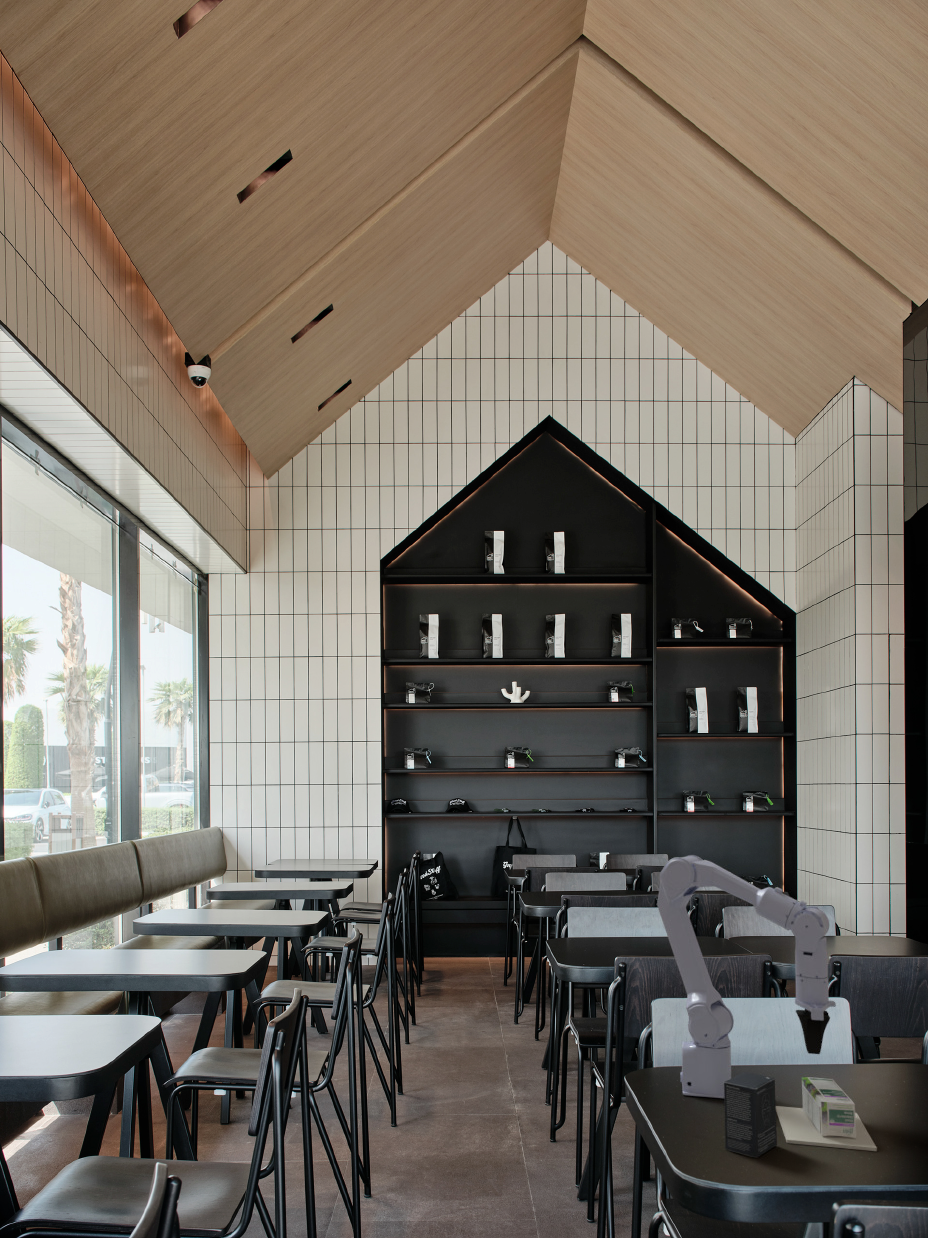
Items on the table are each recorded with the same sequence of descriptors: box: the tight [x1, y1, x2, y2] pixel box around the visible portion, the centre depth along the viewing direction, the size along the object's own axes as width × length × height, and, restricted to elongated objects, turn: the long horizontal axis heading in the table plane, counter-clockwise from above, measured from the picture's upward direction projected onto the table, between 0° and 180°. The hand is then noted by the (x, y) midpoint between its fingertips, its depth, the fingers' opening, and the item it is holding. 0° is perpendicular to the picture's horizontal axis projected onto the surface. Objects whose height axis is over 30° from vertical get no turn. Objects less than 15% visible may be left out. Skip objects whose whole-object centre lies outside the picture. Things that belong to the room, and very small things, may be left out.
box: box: [723, 1071, 778, 1159], centre depth 165 cm, size 8×6×11 cm
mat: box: [776, 1105, 878, 1152], centre depth 174 cm, size 14×18×1 cm
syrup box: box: [801, 1076, 856, 1139], centre depth 175 cm, size 6×6×14 cm
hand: (813, 1053), depth 185 cm, fingers closed
